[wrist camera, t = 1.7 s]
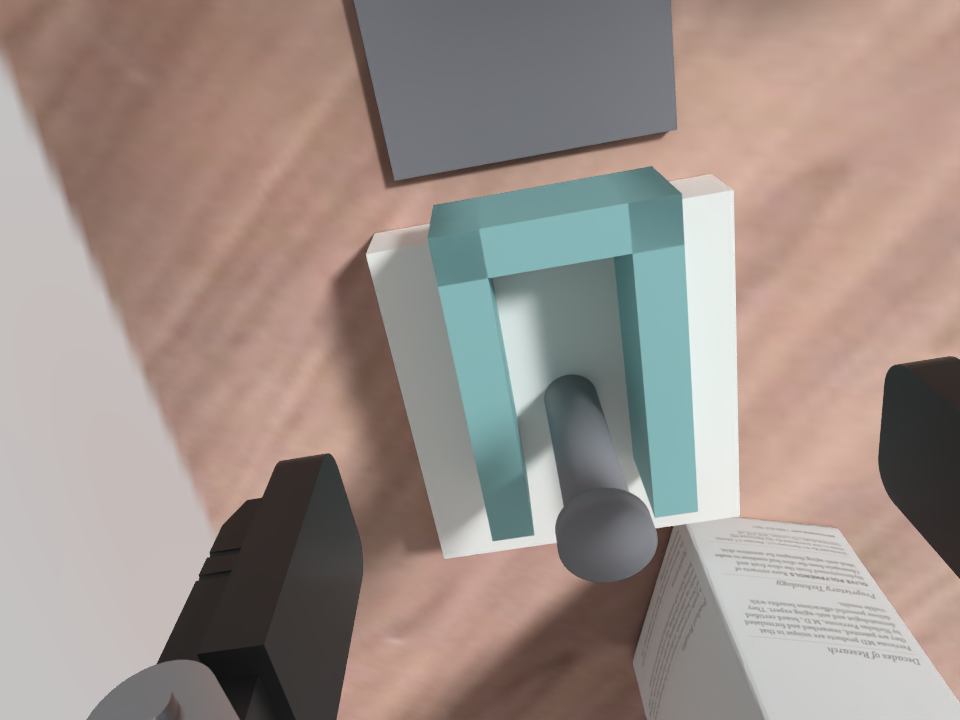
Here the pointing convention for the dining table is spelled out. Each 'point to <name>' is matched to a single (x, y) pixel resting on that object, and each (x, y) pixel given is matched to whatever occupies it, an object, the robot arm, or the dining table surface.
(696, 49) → the dining table surface
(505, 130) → the felt pad
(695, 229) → the stand
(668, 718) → the skincare box
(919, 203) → the dining table surface
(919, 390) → the robot arm
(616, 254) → the c link
